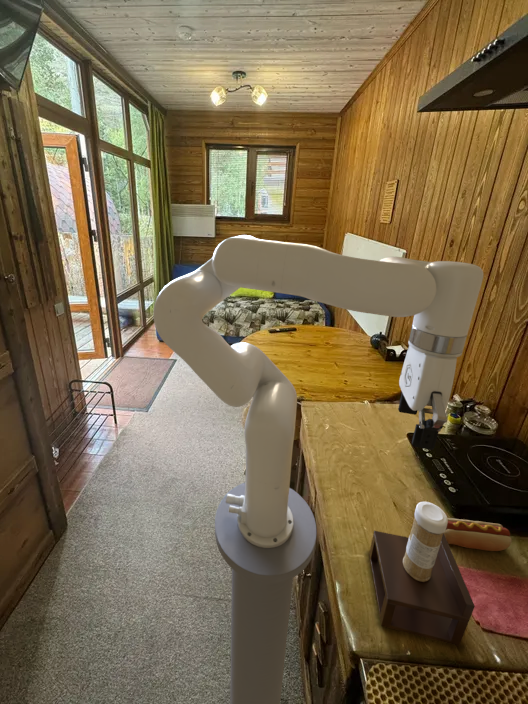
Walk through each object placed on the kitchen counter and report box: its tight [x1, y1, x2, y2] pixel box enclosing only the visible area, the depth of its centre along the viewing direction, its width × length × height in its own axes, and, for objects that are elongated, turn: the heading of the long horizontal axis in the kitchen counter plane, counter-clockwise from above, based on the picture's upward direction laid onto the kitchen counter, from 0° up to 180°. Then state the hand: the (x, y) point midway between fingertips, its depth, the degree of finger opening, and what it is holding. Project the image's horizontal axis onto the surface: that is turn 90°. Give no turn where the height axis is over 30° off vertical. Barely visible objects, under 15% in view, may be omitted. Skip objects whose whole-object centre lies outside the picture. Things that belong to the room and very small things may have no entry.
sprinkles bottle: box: [403, 501, 449, 582], centre depth 53 cm, size 5×5×13 cm
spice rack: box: [368, 530, 476, 647], centre depth 55 cm, size 12×12×10 cm
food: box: [444, 517, 513, 552], centre depth 66 cm, size 14×6×5 cm, turn 83°
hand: (414, 428), depth 55 cm, fingers open, 9 cm apart
